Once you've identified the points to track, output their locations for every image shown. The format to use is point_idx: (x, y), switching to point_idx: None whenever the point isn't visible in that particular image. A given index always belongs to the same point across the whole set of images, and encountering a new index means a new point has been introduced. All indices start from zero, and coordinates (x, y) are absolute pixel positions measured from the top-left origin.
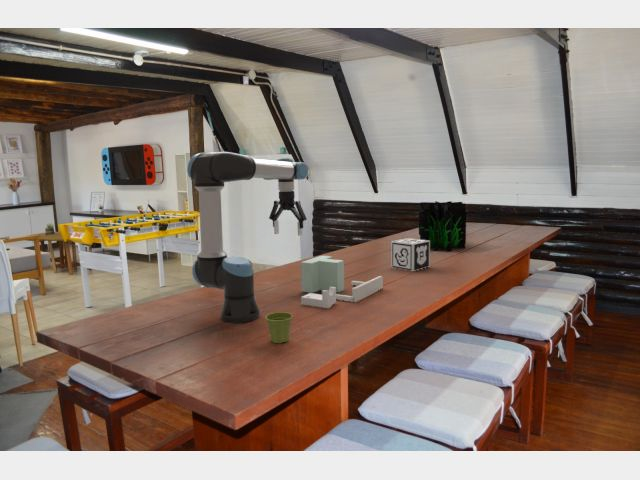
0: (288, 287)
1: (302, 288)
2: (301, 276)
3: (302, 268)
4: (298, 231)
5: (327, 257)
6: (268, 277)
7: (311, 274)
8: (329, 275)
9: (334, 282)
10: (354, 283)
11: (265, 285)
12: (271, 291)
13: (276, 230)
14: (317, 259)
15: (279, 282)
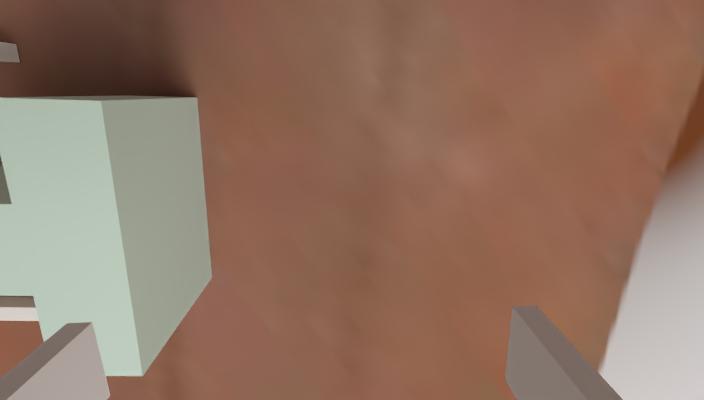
0: (309, 133)
1: (185, 97)
2: (158, 98)
3: (117, 99)
4: (22, 369)
5: (53, 334)
6: (522, 253)
7: (61, 96)
8: (5, 178)
9: (3, 169)
10: None
11: (444, 113)
12: (340, 20)
13: (537, 365)
14: (63, 246)
15: (412, 196)
